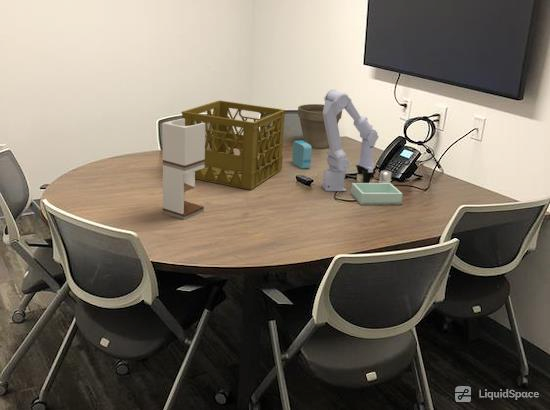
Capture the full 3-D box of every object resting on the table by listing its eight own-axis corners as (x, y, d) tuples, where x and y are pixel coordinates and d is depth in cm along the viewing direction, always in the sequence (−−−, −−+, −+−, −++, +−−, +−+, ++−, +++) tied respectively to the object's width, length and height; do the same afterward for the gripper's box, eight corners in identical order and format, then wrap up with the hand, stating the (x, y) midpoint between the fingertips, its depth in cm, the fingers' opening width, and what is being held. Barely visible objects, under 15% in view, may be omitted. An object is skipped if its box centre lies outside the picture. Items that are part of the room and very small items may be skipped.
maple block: (359, 187, 263) (360, 177, 261) (356, 184, 268) (357, 174, 266) (369, 187, 264) (371, 177, 262) (366, 184, 268) (367, 174, 267)
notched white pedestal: (184, 219, 214) (185, 127, 202) (163, 213, 219) (162, 122, 207) (203, 211, 223) (205, 123, 211) (182, 205, 228) (183, 118, 216)
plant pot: (292, 148, 321) (295, 109, 314) (298, 138, 344) (300, 102, 336) (336, 152, 318) (340, 114, 310) (339, 142, 341) (343, 106, 333)
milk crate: (180, 177, 262) (181, 111, 251) (217, 159, 292) (219, 100, 282) (251, 191, 249) (254, 123, 239) (281, 170, 280) (285, 109, 270)
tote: (360, 205, 241) (362, 193, 239) (350, 193, 254) (351, 183, 252) (401, 204, 244) (402, 193, 243) (389, 193, 257) (390, 183, 255)
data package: (310, 169, 285) (312, 145, 281) (302, 169, 284) (303, 146, 280) (299, 162, 296) (301, 139, 291) (291, 162, 294) (293, 140, 290)
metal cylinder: (380, 188, 264) (382, 173, 261) (377, 184, 268) (379, 170, 266) (391, 188, 265) (393, 173, 262) (387, 184, 269) (389, 170, 267)
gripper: (380, 159, 255) (377, 187, 259) (369, 150, 268) (366, 177, 273) (365, 158, 253) (362, 187, 258) (355, 150, 266) (352, 177, 271)
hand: (363, 182), depth 265 cm, fingers open, 6 cm apart
